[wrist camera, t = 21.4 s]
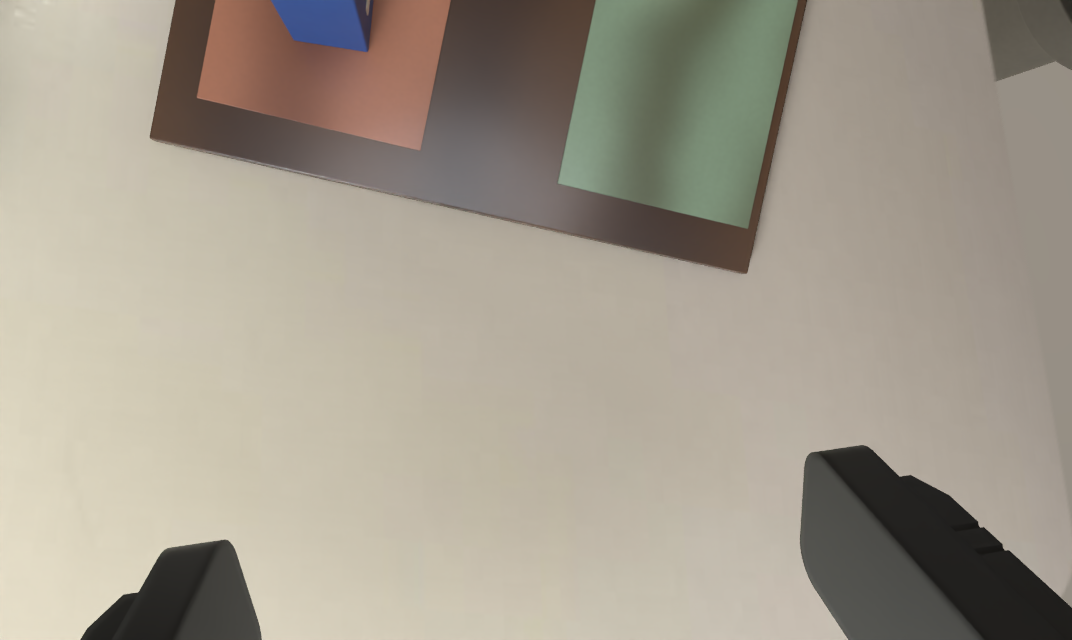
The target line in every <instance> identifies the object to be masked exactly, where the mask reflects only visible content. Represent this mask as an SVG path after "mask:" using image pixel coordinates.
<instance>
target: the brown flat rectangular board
mask: <svg viewBox="0 0 1072 640" xmlns="http://www.w3.org/2000/svg"><path fill="white" fill-rule="evenodd" d="M806 2H807V0H373V10H372V20H371V30H370V40H369V50H368V52H363V51H357V50H351V49H344V48H338V47H332V46H326V45H319V44H313V43H307V42H301V41H295V40H293V38H292V36H291V35H290V33H289V31H288V29H287V28H286V26H285V24H284V23H283V21H282V19H281V17H280V16H279V14H278V12H277V10H276V9H275V7H274V5H273V3H272V2H271V0H176V1H175V7H174V12H173V17H172V22H171V28H170V33H169V38H168V43H167V49H166V54H165V59H164V64H163V70H162V75H161V80H160V86H159V91H158V96H157V101H156V107H155V112H154V117H153V122H152V128H151V133H150V138H151V139H152V140H154V141H157V142H162V143H166V144H171V145H175V146H179V147H184V148H188V149H193V150H197V151H201V152H206V153H210V154H215V155H219V156H224V157H228V158H232V159H237V160H241V161H246V162H250V163H254V164H259V165H263V166H268V167H272V168H277V169H281V170H285V171H290V172H294V173H299V174H303V175H307V176H312V177H316V178H321V179H325V180H330V181H334V182H338V183H343V184H347V185H352V186H356V187H361V188H365V189H369V190H374V191H378V192H383V193H387V194H391V195H396V196H400V197H405V198H409V199H414V200H418V201H422V202H427V203H431V204H436V205H440V206H444V207H449V208H453V209H458V210H462V211H467V212H471V213H475V214H480V215H484V216H489V217H493V218H497V219H502V220H506V221H511V222H515V223H520V224H524V225H528V226H533V227H537V228H542V229H546V230H551V231H555V232H559V233H564V234H568V235H573V236H577V237H581V238H586V239H590V240H595V241H599V242H604V243H608V244H612V245H617V246H621V247H626V248H630V249H634V250H639V251H643V252H648V253H652V254H657V255H661V256H665V257H670V258H674V259H679V260H683V261H687V262H692V263H696V264H701V265H705V266H710V267H714V268H718V269H723V270H727V271H732V272H736V273H741V274H746V273H747V272H748V267H749V262H750V258H751V253H752V249H753V244H754V240H755V235H756V230H757V226H758V221H759V217H760V212H761V208H762V203H763V199H764V194H765V189H766V185H767V180H768V176H769V171H770V167H771V162H772V157H773V153H774V148H775V144H776V139H777V135H778V130H779V126H780V121H781V116H782V112H783V107H784V103H785V98H786V94H787V89H788V84H789V80H790V75H791V71H792V66H793V62H794V57H795V53H796V48H797V43H798V39H799V34H800V30H801V25H802V21H803V16H804V11H805V7H806Z"/></svg>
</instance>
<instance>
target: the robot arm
mask: <svg viewBox="0 0 1072 640" xmlns="http://www.w3.org/2000/svg"><path fill="white" fill-rule="evenodd" d="M1002 545H1003V544H1002V543H1000V542H999V541H998V540H997V539H996V538H995V537H994V536H993V535H992V534H991V533H990V532H988V531H987V530H986V529H985V528H984V527H983V528H980V527H979V525H978V521H977V520H975V519H974V518H973V517H972V516H971V515H970V514H969V513H968V512H967V511H966V510H965V509H963V508H962V507H961V506H960V505H959V504H958V503H957V502H956V501H955V500H954V499H953V498H951V497H950V496H949V495H947V494H945V493H944V492H942V491H940V490H938V489H936V488H934V487H932V486H930V485H928V484H926V483H924V482H923V481H921V480H919V479H917V478H915V477H913V476H911V475H909V476H902V477H899V476H898V475H897V474H896V473H895V472H894V471H893V470H892V469H891V468H890V467H889V466H888V465H887V464H886V463H885V462H884V461H883V460H882V459H881V458H880V457H879V456H878V455H877V454H876V453H875V452H874V451H873V450H871V449H870V448H869V447H867V446H864V445H860V446H853V447H846V448H839V449H833V450H826V451H819V452H812V453H810V454H809V455H808V456H807V458H806V461H805V467H804V482H803V499H802V516H801V533H800V547H801V554H802V559H803V563H804V566H805V569H806V572H807V574H808V577H809V579H810V581H811V583H812V585H813V587H814V588H815V590H816V591H817V593H818V594H819V596H820V597H821V599H822V600H823V602H824V603H825V605H826V606H827V608H828V609H829V611H830V612H831V614H832V616H833V617H834V619H835V620H836V622H837V623H838V625H839V626H840V628H841V629H842V631H843V632H844V634H845V635H846V637H847V638H848V640H1072V608H1071V607H1070V606H1069V605H1068V604H1067V603H1066V602H1065V601H1064V600H1063V599H1061V598H1060V597H1059V596H1058V595H1057V594H1056V593H1055V592H1054V591H1053V590H1052V589H1051V588H1049V587H1048V586H1047V585H1046V584H1045V583H1044V582H1043V581H1042V580H1041V579H1040V578H1039V577H1038V576H1036V575H1035V574H1034V573H1033V572H1032V571H1031V570H1030V569H1029V568H1028V567H1027V566H1026V565H1024V564H1023V563H1022V562H1021V561H1020V560H1019V559H1018V558H1017V557H1016V556H1015V555H1014V554H1012V553H1011V552H1010V551H1009V550H1007V551H1005V550H1004V549H1003V546H1002ZM81 640H262V639H261V631H260V626H259V622H258V619H257V616H256V613H255V610H254V607H253V604H252V601H251V598H250V594H249V591H248V588H247V585H246V582H245V579H244V576H243V573H242V569H241V566H240V563H239V560H238V557H237V554H236V551H235V549H234V547H233V545H232V544H231V543H230V542H229V541H228V540H220V541H213V542H206V543H199V544H192V545H186V546H179V547H172V548H167V549H166V550H164V551H163V552H162V553H161V554H160V556H159V557H158V559H157V561H156V563H155V564H154V566H153V568H152V570H151V571H150V573H149V575H148V577H147V578H146V580H145V582H144V584H143V586H142V587H141V589H140V591H139V592H138V593H132V594H125V595H123V596H122V597H121V598H119V599H118V600H117V601H116V602H115V603H114V604H113V605H112V606H111V607H110V608H109V609H108V610H107V611H106V612H105V613H103V614H102V615H101V616H100V617H99V618H98V619H97V620H96V621H95V622H94V623H93V624H92V625H91V626H90V627H88V628H87V630H86V632H85V633H84V635H83V636H82V638H81Z"/></svg>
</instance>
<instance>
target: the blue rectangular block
mask: <svg viewBox="0 0 1072 640" xmlns="http://www.w3.org/2000/svg"><path fill="white" fill-rule="evenodd" d="M271 2H272V3H273V5H274V7H275V9H276V10H277V12H278V14H279V16H280V17H281V19H282V21H283V23H284V24H285V26H286V28H287V29H288V31H289V33H290V35H291V36H292V38H293V40H295V41H301V42H307V43H313V44H319V45H326V46H332V47H338V48H344V49H351V50H357V51H363V52H368V50H369V40H370V30H371V20H372V10H373V0H271Z"/></svg>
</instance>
